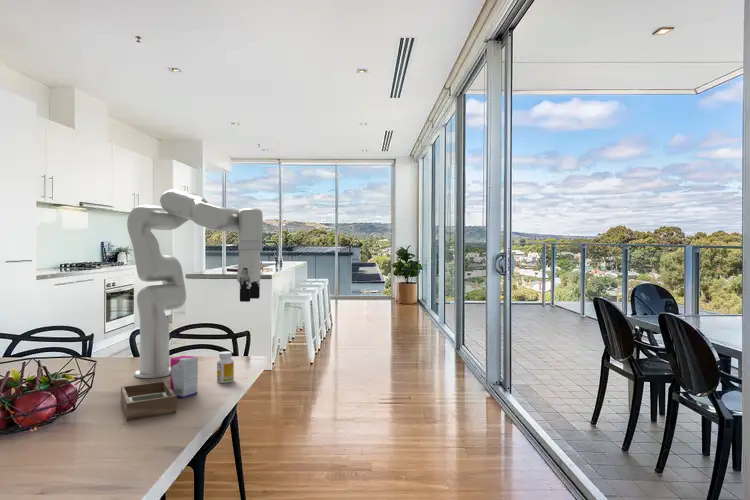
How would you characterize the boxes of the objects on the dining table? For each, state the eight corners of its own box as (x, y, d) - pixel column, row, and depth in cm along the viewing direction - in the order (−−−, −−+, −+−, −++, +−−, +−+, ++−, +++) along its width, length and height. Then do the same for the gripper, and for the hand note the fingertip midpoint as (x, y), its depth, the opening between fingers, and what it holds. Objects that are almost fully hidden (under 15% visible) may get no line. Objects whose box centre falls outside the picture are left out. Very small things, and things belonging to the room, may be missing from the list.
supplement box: (198, 393, 149) (198, 356, 149) (183, 398, 144) (183, 360, 144) (184, 391, 152) (184, 354, 152) (169, 396, 146) (169, 358, 146)
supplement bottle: (236, 379, 166) (236, 351, 166) (229, 383, 160) (230, 354, 160) (221, 378, 166) (221, 350, 166) (214, 383, 161) (214, 353, 161)
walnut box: (120, 402, 140) (120, 386, 140) (165, 395, 147) (165, 380, 147) (127, 420, 125) (127, 403, 125) (176, 412, 132) (176, 396, 132)
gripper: (247, 247, 165) (247, 297, 165) (229, 246, 147) (228, 302, 147) (269, 247, 164) (268, 297, 164) (253, 246, 147) (253, 303, 147)
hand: (249, 299), depth 156 cm, fingers open, 9 cm apart
